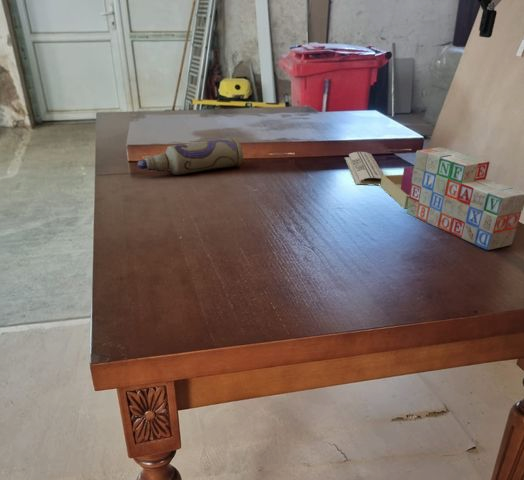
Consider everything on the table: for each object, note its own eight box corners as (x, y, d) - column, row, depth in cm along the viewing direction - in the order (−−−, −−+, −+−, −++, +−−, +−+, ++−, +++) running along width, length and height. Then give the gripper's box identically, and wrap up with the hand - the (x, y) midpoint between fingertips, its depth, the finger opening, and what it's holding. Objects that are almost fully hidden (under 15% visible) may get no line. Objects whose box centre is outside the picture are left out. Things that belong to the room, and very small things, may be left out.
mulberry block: (421, 189, 116) (426, 166, 114) (431, 196, 112) (435, 172, 110) (400, 190, 116) (404, 166, 113) (408, 197, 112) (413, 173, 109)
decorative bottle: (230, 161, 135) (230, 134, 131) (244, 169, 130) (244, 141, 126) (133, 174, 124) (129, 144, 121) (143, 182, 119) (140, 152, 115)
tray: (426, 185, 121) (428, 173, 120) (455, 206, 109) (458, 194, 108) (379, 186, 119) (381, 175, 118) (404, 208, 108) (406, 195, 106)
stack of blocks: (512, 245, 92) (534, 174, 85) (487, 251, 90) (507, 179, 83) (429, 208, 108) (441, 145, 101) (405, 212, 105) (416, 149, 98)
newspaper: (386, 185, 120) (387, 177, 119) (355, 184, 120) (356, 176, 119) (370, 158, 140) (371, 151, 139) (344, 158, 140) (345, 151, 139)
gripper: (573, -82, 88) (541, 36, 98) (478, -87, 86) (455, 35, 96) (604, -88, 82) (567, 39, 92) (502, -92, 80) (475, 38, 89)
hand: (510, 37), depth 94 cm, fingers open, 9 cm apart
